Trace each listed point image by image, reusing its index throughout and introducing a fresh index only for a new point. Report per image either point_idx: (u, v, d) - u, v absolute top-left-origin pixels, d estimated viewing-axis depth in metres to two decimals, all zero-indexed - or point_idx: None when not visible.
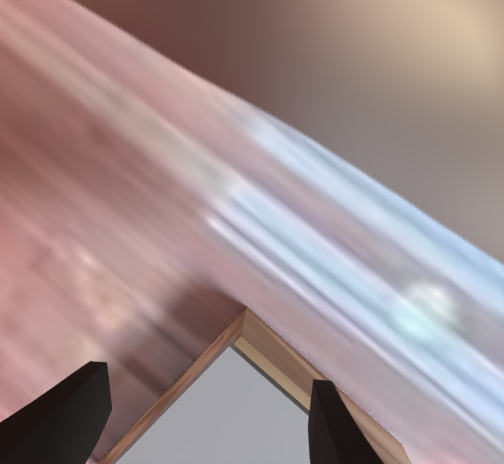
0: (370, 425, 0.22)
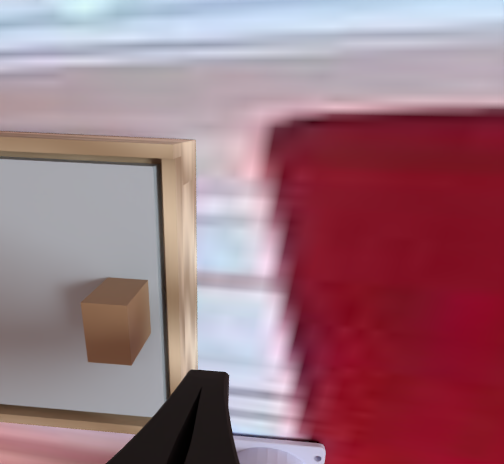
0: (125, 138, 0.18)
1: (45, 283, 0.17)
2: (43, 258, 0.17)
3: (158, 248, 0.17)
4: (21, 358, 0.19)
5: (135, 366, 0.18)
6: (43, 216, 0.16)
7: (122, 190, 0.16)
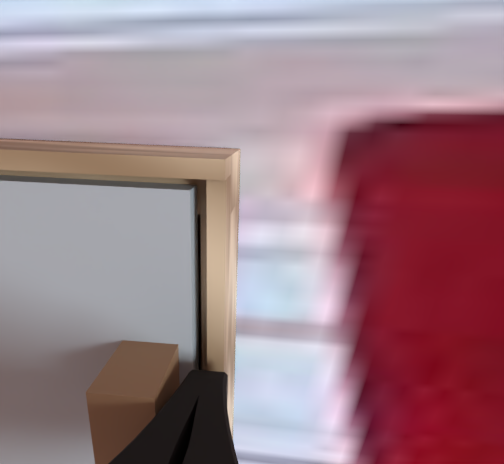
0: (147, 147, 0.13)
1: (36, 347, 0.13)
2: (33, 314, 0.12)
3: (193, 301, 0.12)
4: (5, 440, 0.14)
5: None
6: (32, 258, 0.12)
7: (145, 223, 0.11)
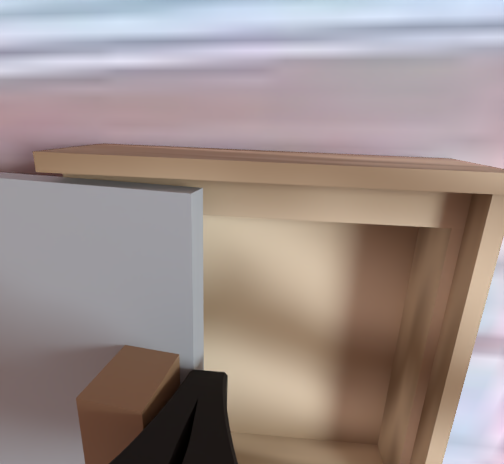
0: (372, 157, 0.13)
1: (45, 344, 0.13)
2: (42, 311, 0.12)
3: (195, 310, 0.11)
4: (19, 431, 0.14)
5: None
6: (41, 257, 0.12)
7: (146, 227, 0.10)
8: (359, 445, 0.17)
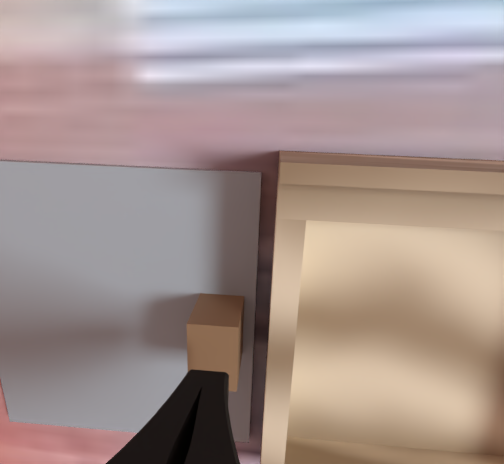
0: None
1: (130, 299, 0.16)
2: (130, 272, 0.15)
3: (257, 261, 0.15)
4: (97, 379, 0.17)
5: None
6: (134, 227, 0.15)
7: (224, 199, 0.14)
8: None
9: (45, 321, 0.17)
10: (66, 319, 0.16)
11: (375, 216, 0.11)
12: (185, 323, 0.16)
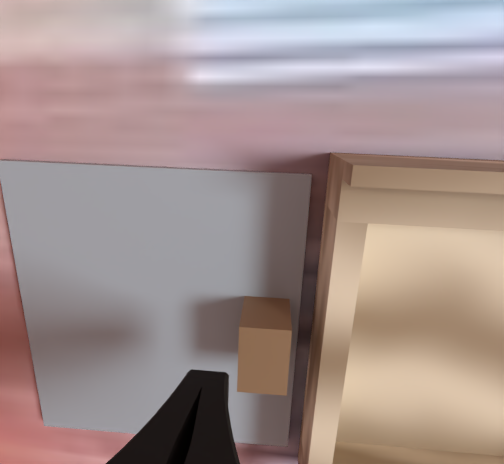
0: None
1: (173, 302, 0.16)
2: (174, 275, 0.15)
3: (303, 264, 0.15)
4: (135, 382, 0.17)
5: None
6: (179, 229, 0.15)
7: (273, 201, 0.14)
8: None
9: (84, 325, 0.16)
10: (107, 322, 0.16)
11: (438, 219, 0.11)
12: (228, 326, 0.16)
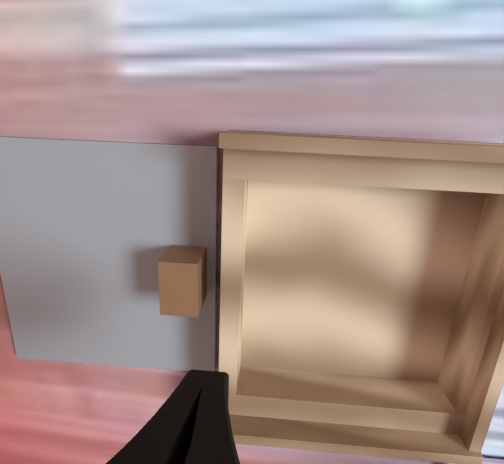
0: (455, 142, 0.16)
1: (115, 251, 0.20)
2: (115, 228, 0.19)
3: (216, 218, 0.19)
4: (89, 319, 0.21)
5: (191, 325, 0.21)
6: (118, 191, 0.19)
7: (189, 167, 0.18)
8: (423, 382, 0.21)
9: (46, 270, 0.20)
10: (64, 268, 0.20)
11: (295, 176, 0.15)
12: None
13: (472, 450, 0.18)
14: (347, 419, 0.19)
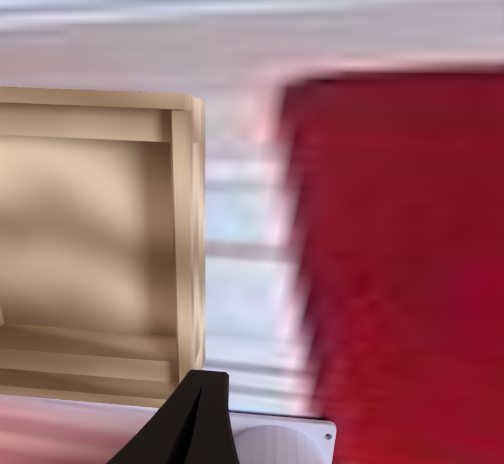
0: None
1: None
2: None
3: None
4: None
5: None
6: None
7: None
8: (172, 337, 0.22)
9: None
10: None
11: None
12: None
13: None
14: (79, 369, 0.20)
